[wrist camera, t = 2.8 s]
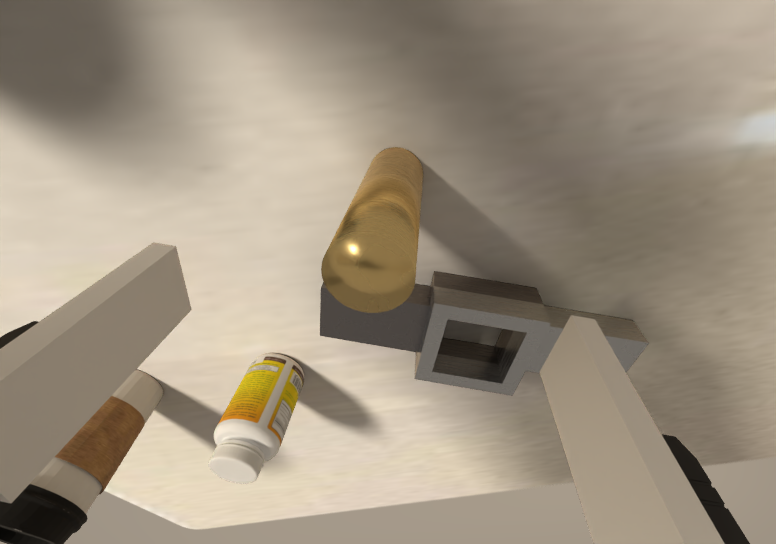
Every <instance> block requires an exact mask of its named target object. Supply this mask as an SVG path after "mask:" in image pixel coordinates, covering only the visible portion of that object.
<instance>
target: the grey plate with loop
mask: <svg viewBox="0 0 776 544" xmlns="http://www.w3.org/2000/svg"><path fill="white" fill-rule="evenodd" d="M571 315H573V316H579V317H585V318H590V319H595V320H596V322H597V324H598V325H599V327H600V329H601V331H602V332H603V334H604V336H605V338H606V339H607V341H608V343H609V344H610V346H611V348H612V350H613V351H614V353H615V355H616V357H617V358H618V360H619V362H620V363H621V365H622V367H623V369H624V370H625V372H627V371H628V369H629V368H630V367H631V366H632V364H633V363H634V362H635V360H636V359H637V358H638V357H639V355H640V354H641V353H642V352H643V350H644V349H645V348H646V346H647V345H648V344H649V342H648V341H647V339H646V338H645V337H644V335H643V334H642V332H641V331H640V330H639V328H638V327H637V325H636V324H635V323H634V321H633V320H628V319H622V318H616V317H610V316H604V315H598V314H592V313H586V312H580V311H574V310H568V309H562V308H556V307H550V306H544V305H543V303H542V300H541V298H540V295H539V293H538V291H537V288H533V287H527V286H521V285H515V284H509V283H503V282H497V281H491V280H485V279H479V278H473V277H467V276H461V275H454V274H448V273H442V272H436V271H434V274H433V278H432V282H431V286H425V285H419V284H415V285H414V288H413V291H412V293H411V294H410V296H409V297H408V299H407V300H406V301H405V302H404V303H402V304H401V305H400V306H398V307H396V308H394V309H392V310H389V311H385V312H380V313H367V312H361V311H357V310H354V309H351V308H349V307H347V306H345V305H343V304H342V303H340V302H339V301H338V300H337V299H335V298H334V297H333V296H332V294H331V293H330V292H329V291H328V289H327V288H326V286H325V284H324V282H323V285H322V287H321V312H320V336H325V337H331V338H337V339H343V340H349V341H354V342H360V343H366V344H372V345H378V346H384V347H390V348H395V349H401V350H407V351H413V352H416V361H415V379H418V380H424V381H430V382H436V383H441V384H447V385H453V386H459V387H465V388H470V389H476V390H482V391H488V392H494V393H499V394H505V395H511V396H512V395H513V394H514V392H515V390H516V388H517V386H518V384H519V382H520V380H521V378H522V377H523V375H524V373H525V371H530V372H536V373H540V370H541V368H542V366H543V365H544V363H545V361H546V359H547V358H548V356H549V354H550V352H551V350H552V349H553V347H554V345H555V343H556V341H557V340H558V338H559V336H560V334H561V332H562V331H563V329H564V327H565V325H566V323H567V322H568V320H569V318H570V316H571ZM448 319H449V320H455V321H461V322H467V323H472V324H478V325H484V326H490V327H496V328H502V331H501V333H500V336H499V338H498V340H497V343H496V345H495V347H494V346H488V345H482V344H476V343H470V342H464V341H458V340H452V339H446V338H442V337H443V334H444V330H445V327H446V324H447V320H448Z"/></svg>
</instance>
